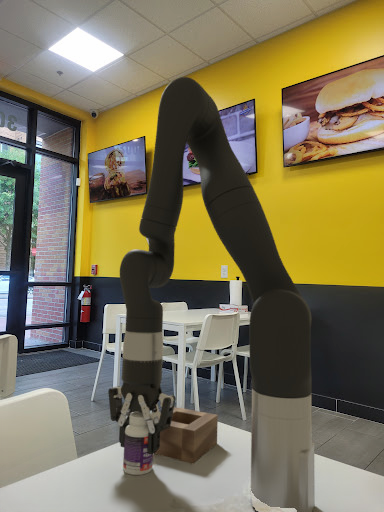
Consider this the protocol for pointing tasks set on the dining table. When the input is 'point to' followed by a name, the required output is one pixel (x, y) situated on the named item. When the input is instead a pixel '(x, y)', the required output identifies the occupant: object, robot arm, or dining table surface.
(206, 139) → the robot arm
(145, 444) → the pill bottle
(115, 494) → the dining table surface
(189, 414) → the socket block
